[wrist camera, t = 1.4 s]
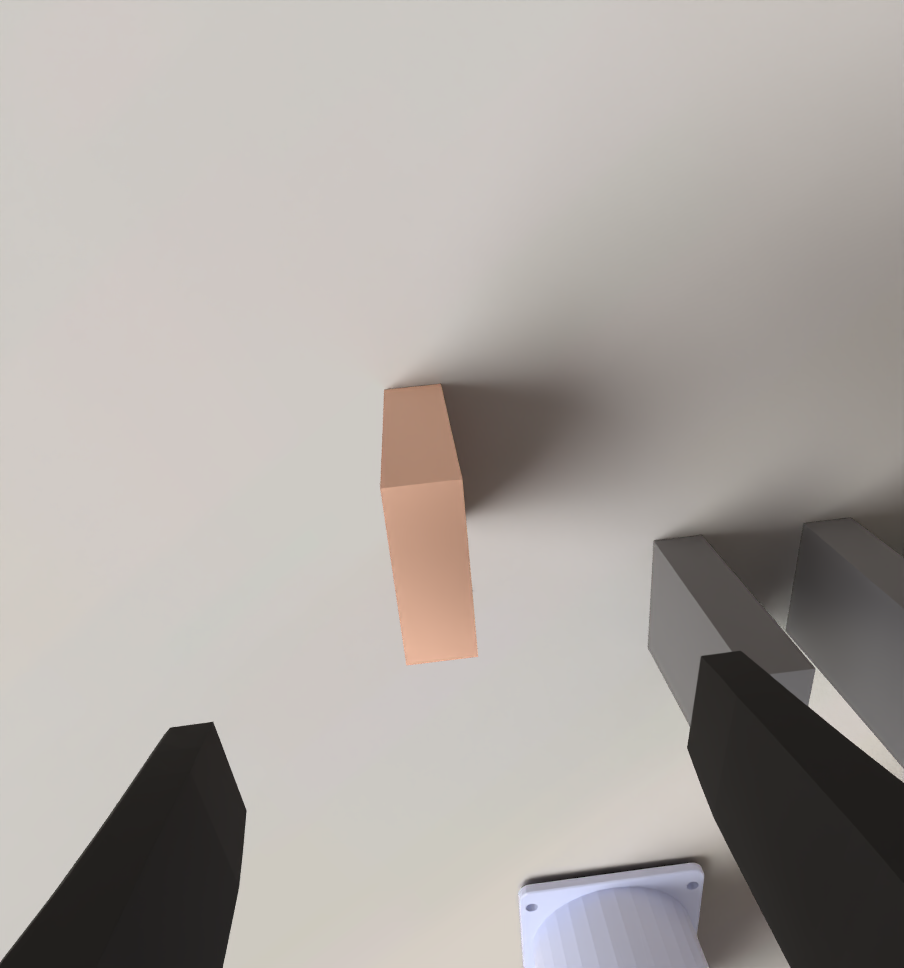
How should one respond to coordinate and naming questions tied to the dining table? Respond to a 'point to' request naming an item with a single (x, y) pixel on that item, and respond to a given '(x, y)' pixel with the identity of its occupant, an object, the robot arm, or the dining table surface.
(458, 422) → the dining table surface
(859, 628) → the grey rectangular block
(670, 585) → the domino
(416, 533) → the domino
